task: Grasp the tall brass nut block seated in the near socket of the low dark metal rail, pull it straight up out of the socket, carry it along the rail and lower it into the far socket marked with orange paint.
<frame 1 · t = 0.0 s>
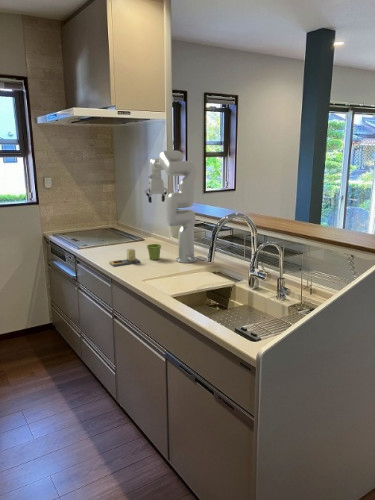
hand: (156, 202, 281), 31 cm above the table, tool pointing down, fingers open, 9 cm apart
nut: (131, 262, 247), resting in rail
rail: (124, 263, 245), on the table
plant pot: (154, 259, 254), on the table
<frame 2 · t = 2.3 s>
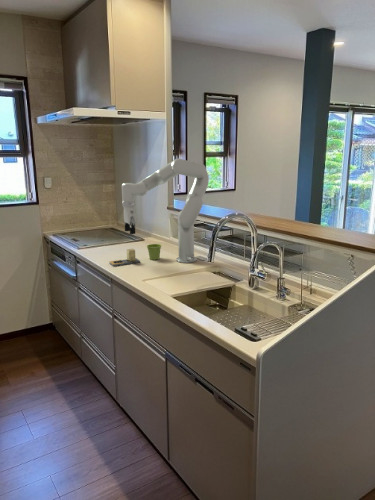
hand: (130, 232, 243), 19 cm above the table, tool pointing down, fingers open, 9 cm apart
nothing on the table moved.
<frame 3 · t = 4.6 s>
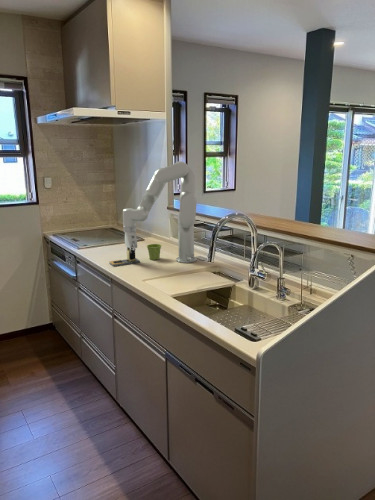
hand: (131, 258, 247), 3 cm above the table, tool pointing down, fingers closed on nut, 4 cm apart
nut: (131, 262, 247), resting in rail, touching gripper
everything else where it was.
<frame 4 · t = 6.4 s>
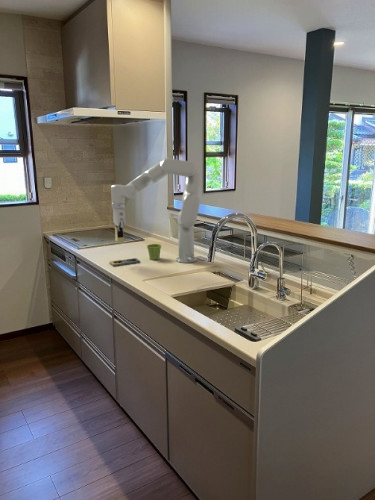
hand: (119, 236, 240), 17 cm above the table, tool pointing down, fingers closed on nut, 4 cm apart
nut: (119, 240, 241), point 14 cm above the table, touching gripper
everything else where it was.
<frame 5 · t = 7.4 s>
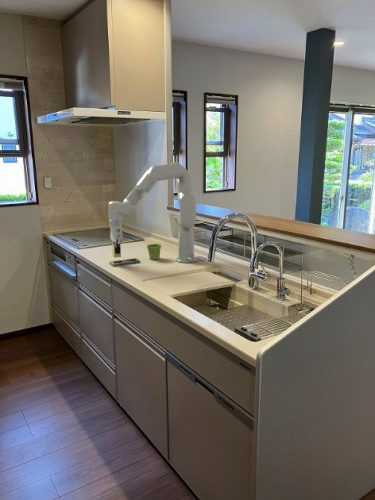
hand: (116, 252, 242), 7 cm above the table, tool pointing down, fingers closed on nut, 4 cm apart
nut: (116, 256, 242), point 5 cm above the table, touching gripper
everything else where it was.
when the fingers open (3 cm above the table, at t = 8.3 s): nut stays where it is, resting in rail.
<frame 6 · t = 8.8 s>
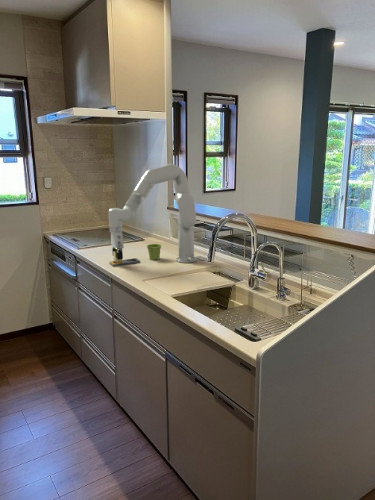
hand: (117, 257, 242), 4 cm above the table, tool pointing down, fingers open, 9 cm apart
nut: (118, 264, 244), resting in rail
everything else where it was.
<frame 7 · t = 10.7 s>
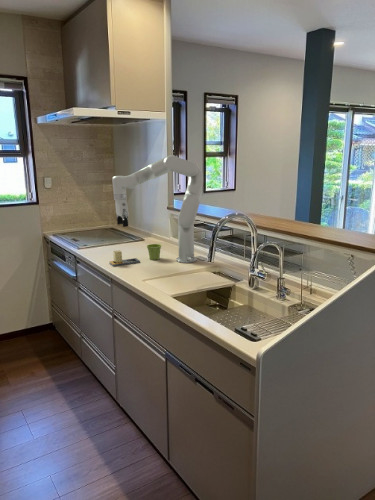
hand: (122, 225, 243), 23 cm above the table, tool pointing down, fingers open, 9 cm apart
nothing on the table moved.
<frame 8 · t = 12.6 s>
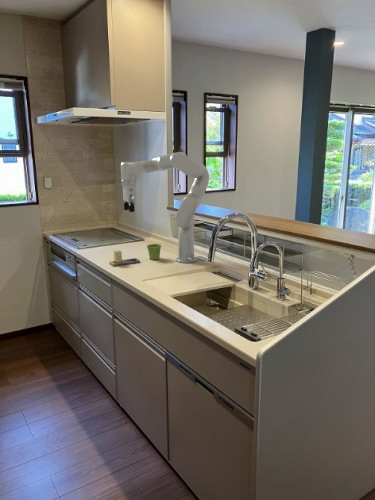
hand: (129, 210, 249), 30 cm above the table, tool pointing down, fingers open, 9 cm apart
nothing on the table moved.
at the end: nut 0.0 cm from the target spot on the rail, point 0.0 cm above the rail's base; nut tilted 0°; the gripper is holding nothing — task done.
